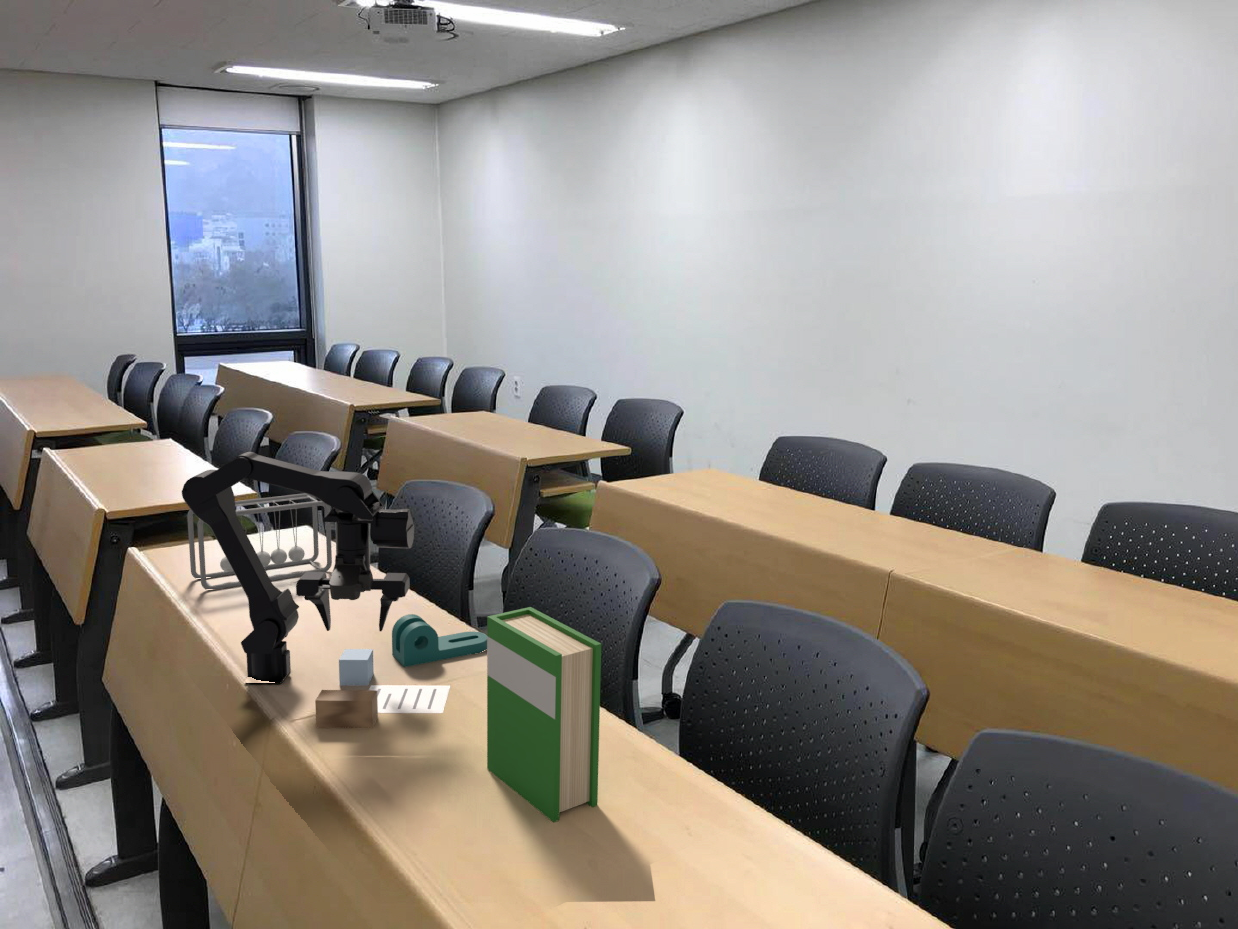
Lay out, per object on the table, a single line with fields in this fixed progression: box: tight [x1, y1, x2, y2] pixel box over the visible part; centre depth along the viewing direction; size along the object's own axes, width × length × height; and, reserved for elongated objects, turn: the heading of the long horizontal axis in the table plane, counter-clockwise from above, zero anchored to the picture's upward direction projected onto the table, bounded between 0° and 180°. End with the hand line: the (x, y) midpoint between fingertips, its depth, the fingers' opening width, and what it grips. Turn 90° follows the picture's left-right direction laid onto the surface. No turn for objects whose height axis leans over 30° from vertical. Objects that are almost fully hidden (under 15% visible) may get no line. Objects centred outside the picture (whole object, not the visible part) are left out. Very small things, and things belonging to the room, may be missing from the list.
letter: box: [368, 684, 451, 714], centre depth 169 cm, size 14×11×1 cm
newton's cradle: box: [186, 493, 333, 590], centre depth 231 cm, size 30×10×18 cm, turn 126°
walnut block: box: [314, 689, 379, 729], centre depth 160 cm, size 9×4×5 cm, turn 92°
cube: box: [338, 648, 375, 686], centre depth 176 cm, size 5×5×5 cm
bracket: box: [391, 613, 487, 668], centre depth 189 cm, size 18×7×8 cm, turn 121°
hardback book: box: [486, 606, 602, 823], centre depth 140 cm, size 18×7×24 cm, turn 38°
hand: (354, 630), depth 175 cm, fingers open, 9 cm apart
